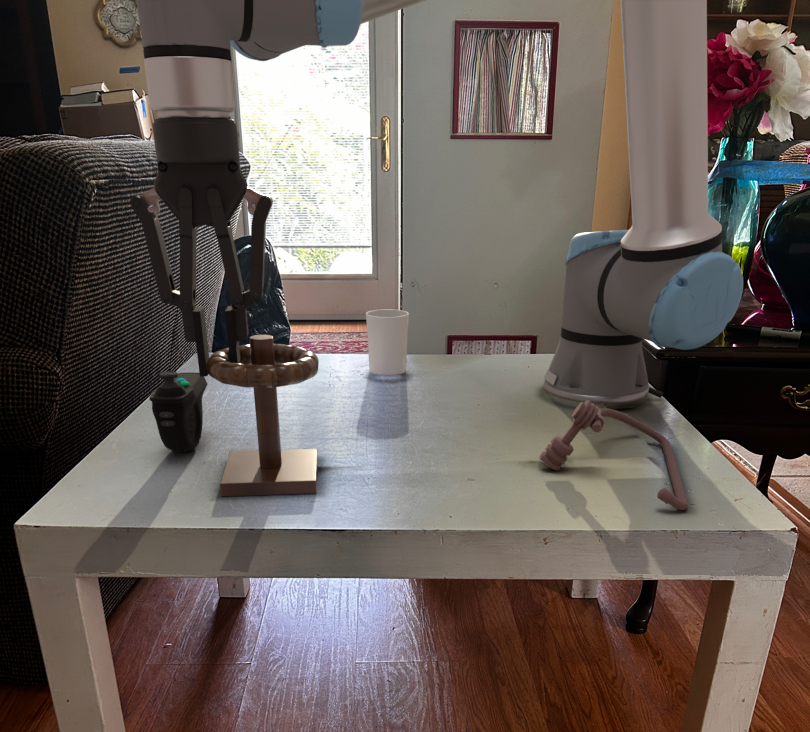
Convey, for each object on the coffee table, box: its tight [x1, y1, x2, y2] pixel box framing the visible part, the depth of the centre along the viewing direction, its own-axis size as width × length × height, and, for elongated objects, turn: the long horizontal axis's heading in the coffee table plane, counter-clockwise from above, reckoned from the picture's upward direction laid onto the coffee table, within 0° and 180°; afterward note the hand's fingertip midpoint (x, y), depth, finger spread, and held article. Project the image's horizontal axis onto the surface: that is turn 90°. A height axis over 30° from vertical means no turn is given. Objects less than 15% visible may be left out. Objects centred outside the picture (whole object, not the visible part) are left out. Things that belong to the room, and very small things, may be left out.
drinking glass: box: [365, 308, 410, 376], centre depth 124 cm, size 7×7×10 cm
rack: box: [219, 334, 318, 497], centre depth 84 cm, size 10×10×16 cm
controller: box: [149, 370, 208, 452], centre depth 94 cm, size 4×12×10 cm, turn 179°
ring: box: [206, 343, 320, 389], centre depth 82 cm, size 11×11×2 cm
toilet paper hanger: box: [539, 400, 689, 511], centre depth 89 cm, size 22×8×14 cm
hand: (220, 372), depth 81 cm, fingers closed on ring, 2 cm apart
